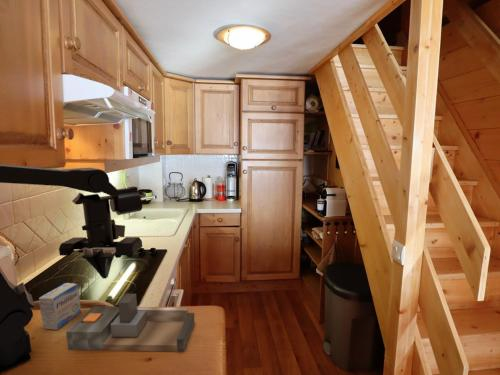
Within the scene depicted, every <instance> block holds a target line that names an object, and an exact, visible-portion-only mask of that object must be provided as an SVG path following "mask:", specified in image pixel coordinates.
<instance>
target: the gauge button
mask: <svg viewBox="0 0 500 375" xmlns="http://www.w3.org/2000/svg"><path fill="white" fill-rule="evenodd" d="M101 316H102V314H101V313H90V314H89V315H88V316H87V317H86V318H85V319H84V320H83V323H96V322H97V321H98V320H99V319H100V317H101Z"/></svg>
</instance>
